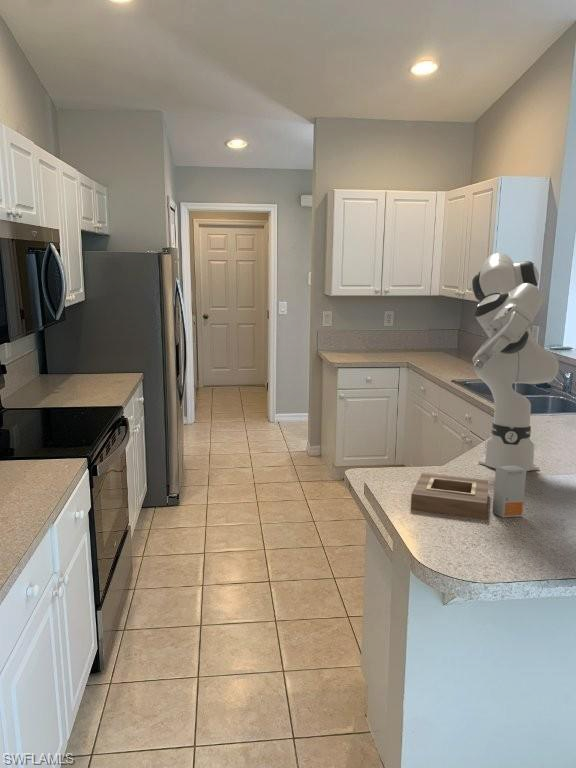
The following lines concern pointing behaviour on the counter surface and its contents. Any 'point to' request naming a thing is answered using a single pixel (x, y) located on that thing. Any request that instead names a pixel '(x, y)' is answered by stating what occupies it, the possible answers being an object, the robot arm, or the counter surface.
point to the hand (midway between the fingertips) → (485, 360)
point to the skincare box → (509, 491)
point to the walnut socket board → (451, 495)
